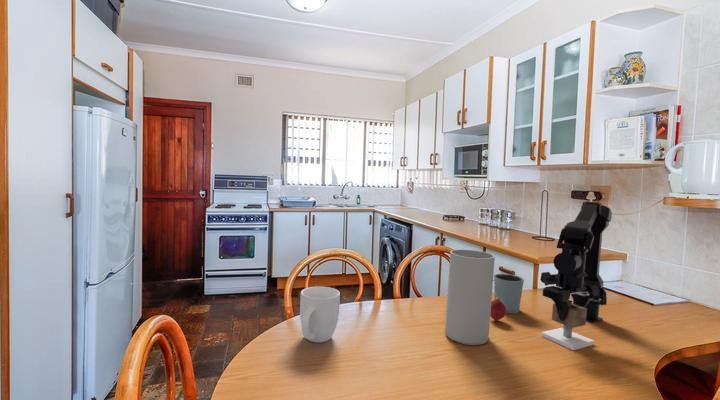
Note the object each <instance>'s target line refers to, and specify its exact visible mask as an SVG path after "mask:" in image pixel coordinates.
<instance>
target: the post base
mask: <svg viewBox="0 0 720 400" xmlns="http://www.w3.org/2000/svg"><path fill="white" fill-rule="evenodd" d="M540 336H541V337H543V338H545V339H547V340H549V341H551V342H553V343H556V344H558V345H561V346H562V347H564V348H567V349H568V350H569V349H570V350H571V351H575V350H579V349H583V348H586V347H590V346H593V345H594V344H595V340H594V339H592V338H589V337H586V336H584V335H581V334H579V333H577V332H574V331H573V328H571V327H568V326H566V325H563V327H559V328H554V329H549V330H545V331H541V334H540Z"/></svg>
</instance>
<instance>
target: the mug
mask: <svg viewBox="0 0 720 400" xmlns="http://www.w3.org/2000/svg"><path fill="white" fill-rule="evenodd" d="M340 299H341V293H340V291H339V290H338V289H336V288H333V287H329V286H309V287H306V288H304V289H302V290H300V301H299V303H300V304H299V313H300V314H299V320H300V325H301V331H302V336H303V337H304V339H306V340H308V341H309V342H312V343H325V342H327V341H329V340H330V339H331V338H332V337H333V335H334V333H335V331H336V328H337V325H338V321H339V315H340V307H341V306H340V302H341V300H340Z"/></svg>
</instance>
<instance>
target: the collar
mask: <svg viewBox="0 0 720 400" xmlns="http://www.w3.org/2000/svg"><path fill="white" fill-rule="evenodd" d="M586 314H587V308H584V307H581V306H578V305H575V304H573V303H572V304H571V306H570V308H569V311H568V313H567V316H566V318H565V320H564V321H561V320H560V319H559V315H558V312H557V308H556V305H555V303H553V304H552V312H551V321H553V322H556V323H558V324H561V325H563V326H564V325H566V326H568V327H571V328H572V329H574V328H577V327H582V326H586V323H587V320H586Z"/></svg>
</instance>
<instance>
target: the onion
mask: <svg viewBox="0 0 720 400" xmlns="http://www.w3.org/2000/svg"><path fill="white" fill-rule="evenodd" d="M499 299H500V298H499V297H497V298H496V299H495V300H494V299H493V300H491V313H490V318H491V319H492V320H493V321H495V322H497V321H500V320H501V319H503V318H504V317H505V316H506V314H507V313H506V307H505V305H504V304H503V303H502V302H501V301H500V300H499Z"/></svg>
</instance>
